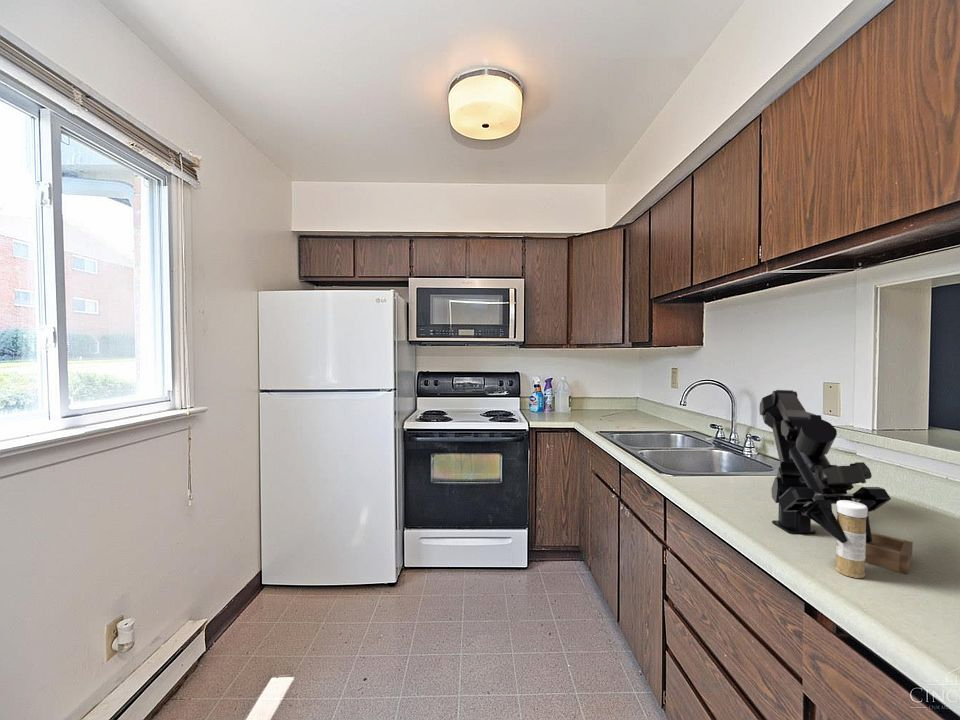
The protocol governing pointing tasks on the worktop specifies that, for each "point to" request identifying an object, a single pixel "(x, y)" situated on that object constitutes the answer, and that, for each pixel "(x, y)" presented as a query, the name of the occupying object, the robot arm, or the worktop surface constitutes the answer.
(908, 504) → the worktop surface
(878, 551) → the walnut collar
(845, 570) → the sprinkles bottle
